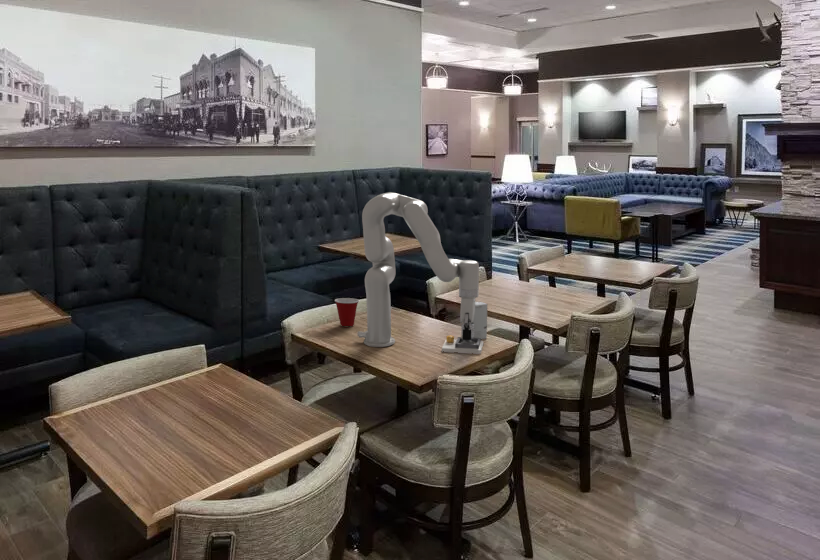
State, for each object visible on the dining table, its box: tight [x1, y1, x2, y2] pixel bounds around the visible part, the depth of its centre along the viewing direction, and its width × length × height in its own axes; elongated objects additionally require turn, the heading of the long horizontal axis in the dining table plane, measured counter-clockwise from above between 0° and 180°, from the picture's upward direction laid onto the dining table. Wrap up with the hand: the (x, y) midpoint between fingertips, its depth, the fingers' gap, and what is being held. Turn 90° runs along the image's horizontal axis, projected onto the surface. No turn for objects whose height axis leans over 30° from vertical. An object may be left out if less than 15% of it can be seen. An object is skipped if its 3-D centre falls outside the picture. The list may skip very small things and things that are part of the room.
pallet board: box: [441, 336, 484, 355], centre depth 247 cm, size 15×12×3 cm
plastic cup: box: [334, 297, 360, 327], centre depth 278 cm, size 11×11×12 cm
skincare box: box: [473, 301, 488, 340], centre depth 258 cm, size 8×6×15 cm
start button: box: [445, 334, 455, 343], centre depth 249 cm, size 3×3×2 cm
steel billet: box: [460, 323, 474, 344], centre depth 245 cm, size 5×5×8 cm
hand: (468, 336), depth 245 cm, fingers open, 8 cm apart
